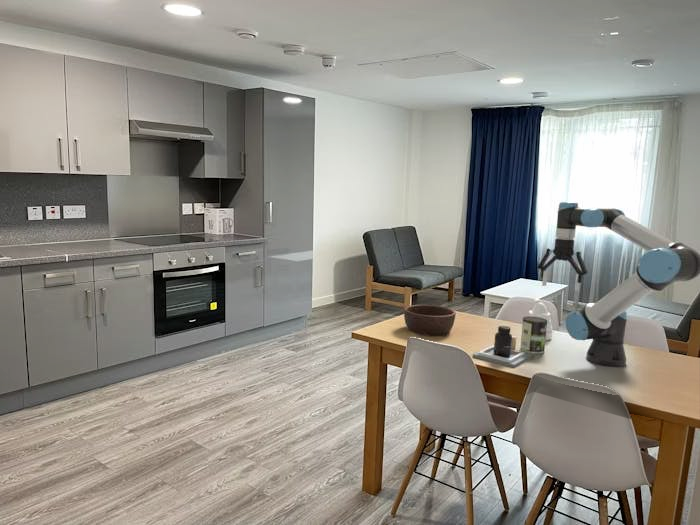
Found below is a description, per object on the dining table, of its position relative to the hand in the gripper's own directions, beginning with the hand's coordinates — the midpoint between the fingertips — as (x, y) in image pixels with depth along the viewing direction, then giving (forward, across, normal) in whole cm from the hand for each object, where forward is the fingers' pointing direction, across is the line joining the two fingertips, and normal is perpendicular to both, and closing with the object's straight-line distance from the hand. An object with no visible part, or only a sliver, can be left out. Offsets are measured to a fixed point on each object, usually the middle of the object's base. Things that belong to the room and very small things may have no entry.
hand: (560, 287), depth 228 cm
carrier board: (+29, +13, +23) cm, 39 cm away
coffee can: (+29, +8, +4) cm, 30 cm away
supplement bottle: (+28, +13, +25) cm, 39 cm away
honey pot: (+29, +15, -21) cm, 39 cm away
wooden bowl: (+29, +57, +11) cm, 65 cm away
